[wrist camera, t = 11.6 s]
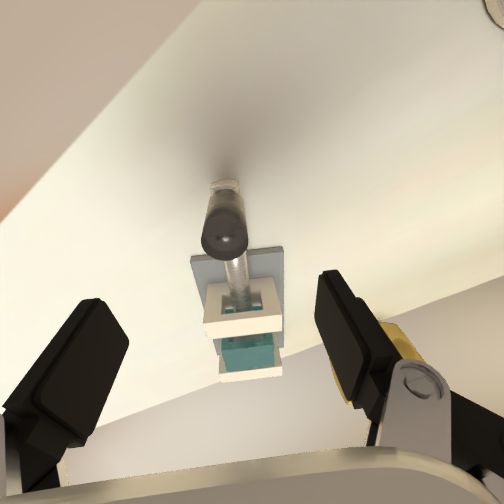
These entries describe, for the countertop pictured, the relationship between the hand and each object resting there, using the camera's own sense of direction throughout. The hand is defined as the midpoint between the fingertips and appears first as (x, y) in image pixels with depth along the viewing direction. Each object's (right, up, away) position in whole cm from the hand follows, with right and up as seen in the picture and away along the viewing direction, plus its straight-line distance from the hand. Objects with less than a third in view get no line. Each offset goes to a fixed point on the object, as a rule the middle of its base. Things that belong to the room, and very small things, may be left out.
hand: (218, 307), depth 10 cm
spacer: (+1, -8, +25) cm, 26 cm away
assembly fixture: (0, -6, +25) cm, 26 cm away
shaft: (0, +2, +16) cm, 16 cm away
